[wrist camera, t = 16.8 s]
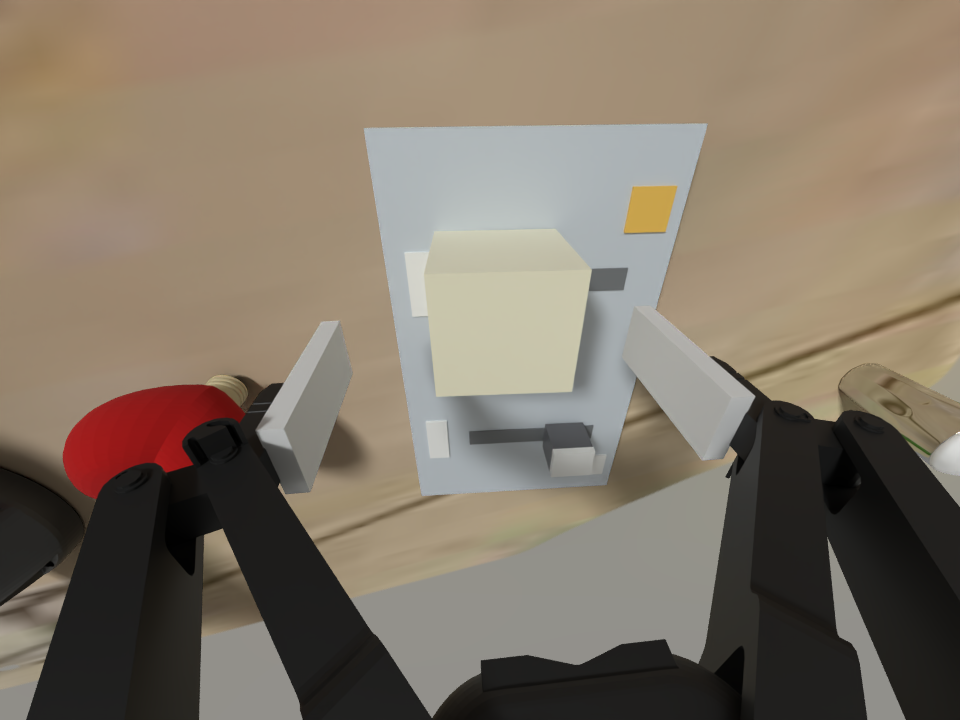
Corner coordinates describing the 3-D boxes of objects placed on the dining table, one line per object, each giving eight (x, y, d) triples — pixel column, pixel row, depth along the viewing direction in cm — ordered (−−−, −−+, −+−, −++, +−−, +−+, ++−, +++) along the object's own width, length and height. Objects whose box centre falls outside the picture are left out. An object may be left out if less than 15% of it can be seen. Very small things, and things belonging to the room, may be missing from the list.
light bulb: (310, 372, 27) (246, 483, 19) (286, 432, 30) (222, 551, 22) (169, 319, 24) (19, 423, 16) (158, 392, 27) (28, 511, 19)
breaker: (542, 446, 30) (550, 477, 27) (545, 424, 29) (554, 454, 26) (578, 444, 30) (590, 475, 27) (582, 422, 29) (595, 451, 26)
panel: (423, 477, 34) (421, 497, 33) (371, 127, 19) (362, 128, 17) (599, 467, 35) (606, 486, 33) (686, 123, 20) (709, 123, 18)
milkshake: (910, 356, 30) (1087, 447, 22) (853, 404, 32) (992, 501, 24) (873, 340, 29) (1045, 430, 20) (818, 391, 31) (950, 488, 23)
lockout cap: (442, 330, 24) (436, 396, 18) (434, 231, 20) (423, 274, 14) (545, 327, 24) (571, 391, 18) (555, 228, 20) (592, 269, 15)
